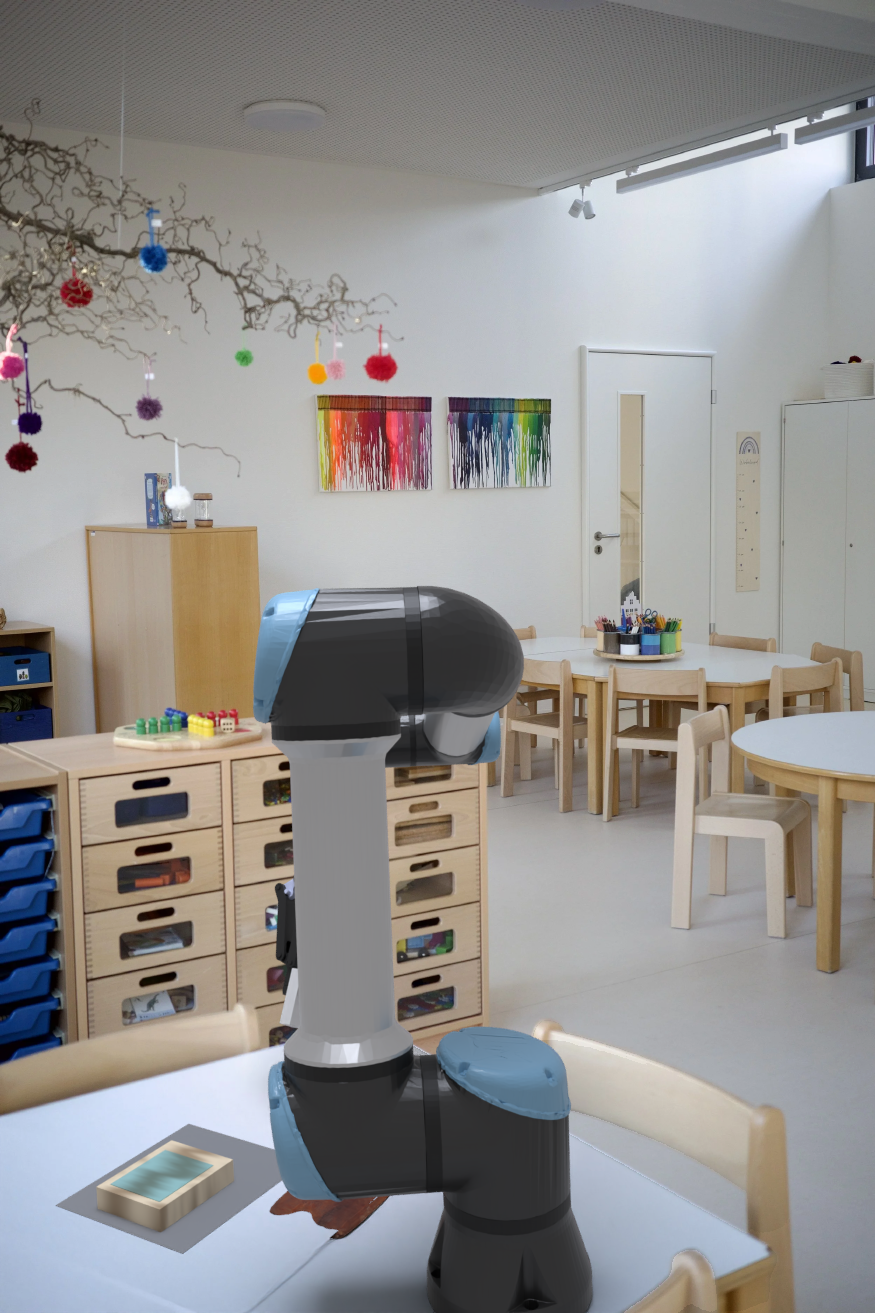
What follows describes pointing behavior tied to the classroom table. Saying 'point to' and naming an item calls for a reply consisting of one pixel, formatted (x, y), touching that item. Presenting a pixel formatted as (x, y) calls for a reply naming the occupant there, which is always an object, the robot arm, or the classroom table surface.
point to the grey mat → (250, 1182)
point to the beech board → (165, 1185)
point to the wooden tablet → (330, 1211)
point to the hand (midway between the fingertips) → (290, 1026)
